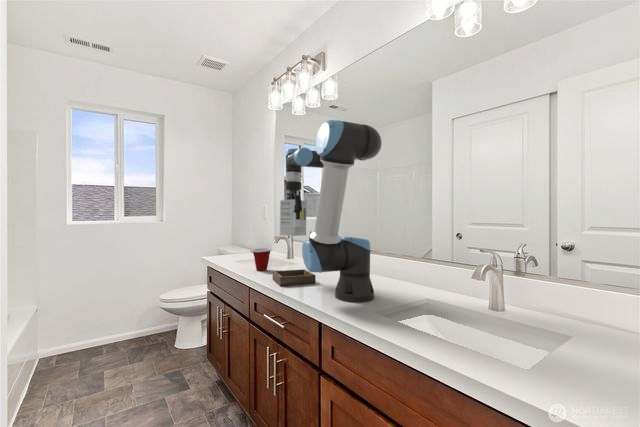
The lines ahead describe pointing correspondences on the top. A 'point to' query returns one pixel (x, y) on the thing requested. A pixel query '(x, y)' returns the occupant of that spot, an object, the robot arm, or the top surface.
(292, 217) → the supplement box
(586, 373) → the top surface
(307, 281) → the wooden tray
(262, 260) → the plastic cup
